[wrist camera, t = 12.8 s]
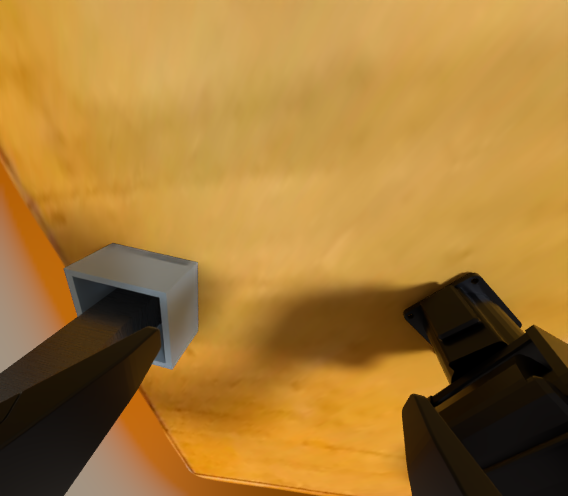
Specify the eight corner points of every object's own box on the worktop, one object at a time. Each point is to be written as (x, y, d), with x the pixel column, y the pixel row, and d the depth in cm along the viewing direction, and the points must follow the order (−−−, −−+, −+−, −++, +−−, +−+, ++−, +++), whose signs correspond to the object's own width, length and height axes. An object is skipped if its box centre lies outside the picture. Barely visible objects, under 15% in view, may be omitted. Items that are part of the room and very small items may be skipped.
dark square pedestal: (173, 280, 24) (21, 423, 12) (176, 319, 26) (49, 472, 14) (125, 268, 24) (-66, 396, 13) (132, 308, 26) (-26, 448, 15)
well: (197, 262, 24) (166, 293, 19) (198, 330, 27) (172, 369, 23) (112, 243, 24) (63, 268, 20) (125, 312, 28) (86, 346, 24)
